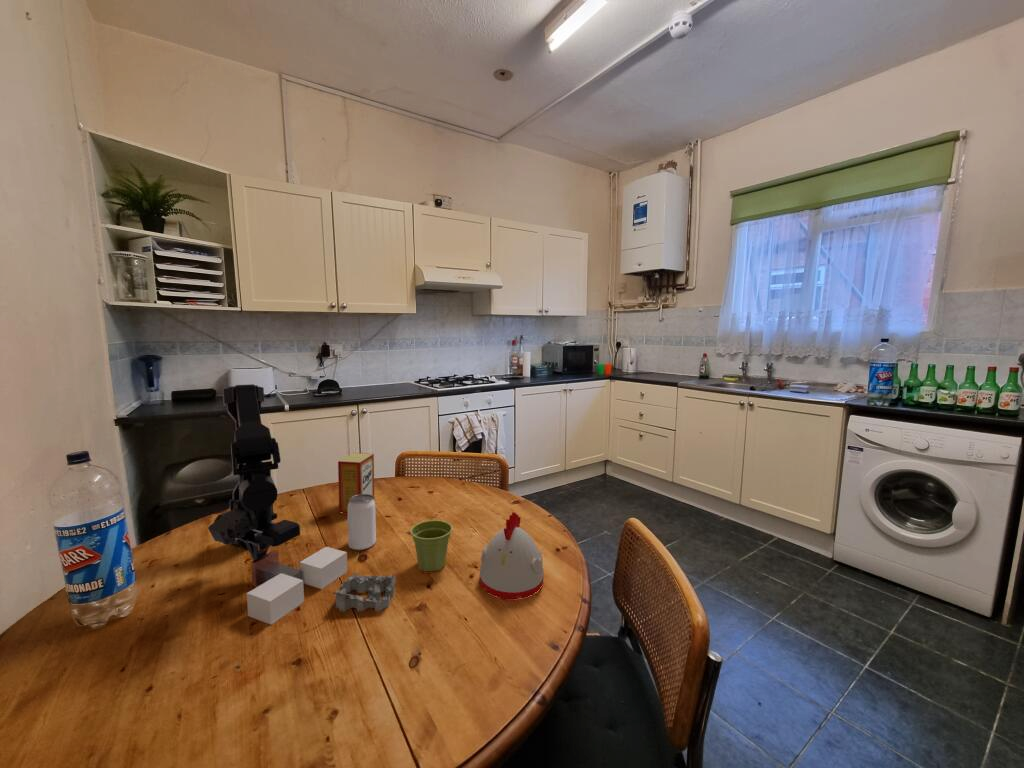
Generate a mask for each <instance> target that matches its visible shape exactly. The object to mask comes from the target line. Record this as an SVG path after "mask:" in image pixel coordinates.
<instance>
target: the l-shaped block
mask: <svg viewBox="0 0 1024 768" xmlns="http://www.w3.org/2000/svg"><path fill="white" fill-rule="evenodd" d="M250 564H251V566H250V568H251V586H253V587H255V588H256V587H258V586H260V585H262V584H263V583H265V582H267V581H268V580H270V579H272V578H274V577H275V576H277V575H279V574H280V573H282V574H285V575H288V576H291V577H295V578H298V579H301V580H302V571H301V570H300V569H298V568H295V567H291V566H289V565H285V564H282V563H279V550H275V549H273V550H271V551H269V552H267V553H266V554H265V555H263V556H261V557H259V558H258V559H256V560H254V561H253V560H252V561H250Z"/></svg>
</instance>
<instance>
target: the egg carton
mask: <svg viewBox="0 0 1024 768" xmlns="http://www.w3.org/2000/svg"><path fill="white" fill-rule="evenodd" d="M395 582H396V574H392V575H387V576H383V575H381V576H379V575H378V574H376V575H361V574H357V573H356V574H353V575H350V576H349V577H347V578H345V580H344V581H343V583H342V584H341V585H340V586H339V589H338V590H337V589H336V590H335V591H333V595H335V608H337V609H339V611H340V612H346V611H347V610H349V609H351V608H352V609H353V608H355V609H357V612H364V611H365V610H366V609H370V608H373V609H374V610H375V612H382V611H383V610H384V609H387V608H389V607H390V606H391V600H390V599H391V597H394V596H395ZM353 590H355V591H356V593H358V594H365V593H367V595H368V597H367V598H365V599H364V598H363V596H360V595H358V594H356V595H354V594H353V593H351V594H349V593H350V592H352V591H353ZM384 592H385V594H384V595H385V596H384V597H381V593H384Z"/></svg>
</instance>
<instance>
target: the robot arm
mask: <svg viewBox="0 0 1024 768" xmlns="http://www.w3.org/2000/svg"><path fill="white" fill-rule="evenodd" d="M222 401H223V406H226V409H227V414H228V415H229V416H230V417H231V418H232V420H233V421H234V422H235V430H234V432H233V433H234V436H233V437H234V441H233V442H232V441H231V442H230V452H231V453H230V454H231V463H232V464H231V465H232V474H233V476H237V477H238V482H237V484H236V486H235V487H234V488H233V491H232V499H230V500H229V510H227V511H225V512H223V513H220V514H218V515H217V516H216V518H215V519H214V521H213V522H212V523H211V524H210V525H209V526H208V528H207V529H208V531H209V532H210V534H211V536H212V538H213V540H214V542H220V543H222V544H224V545H230V544H231V545H234V546H236V547H239V548H243V549H245V550H248V552H249V554H250V556H251V559H252V561H254V560H256V559H258V558H259V557H261V556H263V555H265V554H267V553H268V551H269V549H270V547H273V548H274V547H279V546H281V545H283V544H285V543H287V542H289V541H291V540H293V539H295V538H297V537H299V536H300V535H301V524H299V523H297V522H296V521H292V520H288V519H282V520H281V521H278V522H276V521H275V520H276V519H278V513H276V512H274V503H275V501H277V497H278V493H279V492H278V489H277V486H276V484H275V482H274V480H273V477H272V470H278V469H279V464H281V461H282V459H281V453H280V447H279V442H277V441H276V438H275V437H272V434H271V430H270V428H269V427H267V426H266V425H264V424H262V420H261V412H260V411H261V409H262V404H263V403H265V391H264V387H262V386H258V385H257V384H256V385H255V384H235V385H234V386H228V387H227V388H224V389H222ZM237 465H238V466H237ZM237 467H238V468H237Z"/></svg>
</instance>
